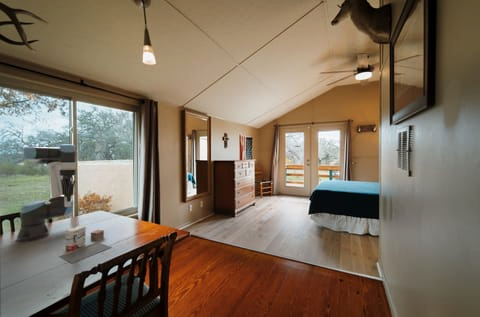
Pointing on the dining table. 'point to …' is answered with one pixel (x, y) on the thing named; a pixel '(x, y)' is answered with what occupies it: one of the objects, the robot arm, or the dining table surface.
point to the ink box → (75, 238)
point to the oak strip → (79, 248)
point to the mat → (84, 252)
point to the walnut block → (97, 235)
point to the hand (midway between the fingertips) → (67, 206)
